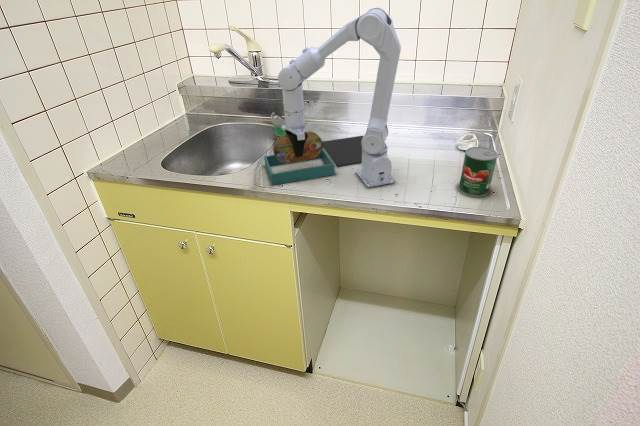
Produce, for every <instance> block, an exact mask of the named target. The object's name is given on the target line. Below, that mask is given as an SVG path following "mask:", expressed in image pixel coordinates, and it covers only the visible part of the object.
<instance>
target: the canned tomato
mask: <svg viewBox="0 0 640 426" xmlns="http://www.w3.org/2000/svg"><path fill="white" fill-rule="evenodd" d="M498 156H499V154H498V152H497V151H496V150H494V149H492V148H489V147H485V146H479V147H471V148H468V149H467V150H465V153H464V159H463V163H462V168H461V174H460V179H459V183H458V184H459V185H458V190H459V192H461V193H462V194H463V195H466V196H469V197H473V198H477V197H478V198H480V197H485V196H487V195H489V193H490V188H491V185H492V181H493V177H494V172H495V169H496V164H497V159H498Z"/></svg>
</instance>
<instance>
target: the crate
mask: <svg viewBox="0 0 640 426" xmlns="http://www.w3.org/2000/svg"><path fill="white" fill-rule="evenodd" d="M318 159H322V161H323V163H324V164H323V165H316V166H309V167H303V168H298V169H291V170H285V171H278V172H274V173H273V171H272V169H271V167H273V166H280V165H285V164H287V163H282V162H280V161H278V160H277V159H276V157H275V155H274V154H269V155H264V165H265V169H266V171H267V174H268V177H269V181H270V183H271V186H276V185H281V184H282V185H283V184H287V183H294V182H299V181H306V180H311V179H317V178H323V177H328V176H333V175H334V176H335V173H336V172H335V171H336V169H335V162H334V161H333V160H332V158H331V157H330V155H329V154H328V153H327V151H326V150H325V148H323V149H322V152H321V153H320V155H319V156H317V157H316V158H314V159H311V160H312V161H313V160H318ZM311 160H310V161H311Z"/></svg>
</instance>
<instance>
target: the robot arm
mask: <svg viewBox="0 0 640 426" xmlns="http://www.w3.org/2000/svg"><path fill="white" fill-rule="evenodd" d="M360 40H362V41H363V42H364V43H366V44H368V45H370V46H372V47H373V49H374V50H375V51H376V53H377V54H378V55H379V62H378V68H377V73H376V80H375V85H374V91H373V98H372V102H371V108H370V115H369V119H368V123H367V127H366V130H365V133H364V135H363V138H362V141H361V145H362V163H361V170H358V171H356V174H357V176H358V178H360V180H361V181H362V182H363V183H364V185H365V186H366V187H367V188H372V187H377V186H383V185H388V184H393V183H394V180H393V178H392V167H393V166H392V161H391V160H390V158H389V156H388V155H389V154H388V148H389V147H388V145H387V143H386V140H387V137H388V136H389V128H388V119H389V117H388V116H389V113H390V112H389V111H390V108H391V107H390V106H391V102H392V96H393V91H394V86H395V81H396V76H397V71H398V66H399V60H400V56H401V51H402V45H401V43H400V39H399V37H398V34H397V32H396V29H395V26H394V22H393V19H392V18H391V17H390V15H389V14H388V13H387V12H386V11H385V10H384V9H383V8H380V7H372V8H370V9H368V10H367V11H366V12H365V13H363V14H360V15H359V16H357V17H356V18H354V19H352V20H350V21H348V22H347V23H345V24H343V26H342V27H341V28H339V30H337V31H336V32H335V33H334V34H333V35H331V36H330V37H329V38H328V39H327V40H325V41H324V42H323V43H322V44H321V45H320V46H313V45H312V46H310V47H308V46H306V47H305V48H303V49H302V50H301V51H302V53H301V54H300V55H298V56H297V57H296V58H295V59H294V58H293V59H291V60H290V61H288V62H289V64H288V65H286V66H285V67H283V68H281V70H280V71H279V73H278V75H277V82H278V85H279V86H280V87H281V90H282V101H283V113H284V115H285V125H282V129H283V130H285V132H286V133H287V135H288V137H289V139H290V140H291V143H292V145H293V149H294V153H295V156H296V157H298V156H303V151H304V145H305V142H306V139H307V138H308V134H307V133H304V132H306V128H307V123H306V115H305V102H304V101H305V100H304V89H303V83H304V81H306V80H308V79H309V78H311V76H313V75H314V74H316V73H317V72H318V71H320V69H322V68H323V67H324V66H325V65H326V58H328V56H330V55H331V54H333V53H334V52H336V51H338V49H340V48H341V47H343V46H344V45H345V44H347V43H348V42H359V41H360Z"/></svg>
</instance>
